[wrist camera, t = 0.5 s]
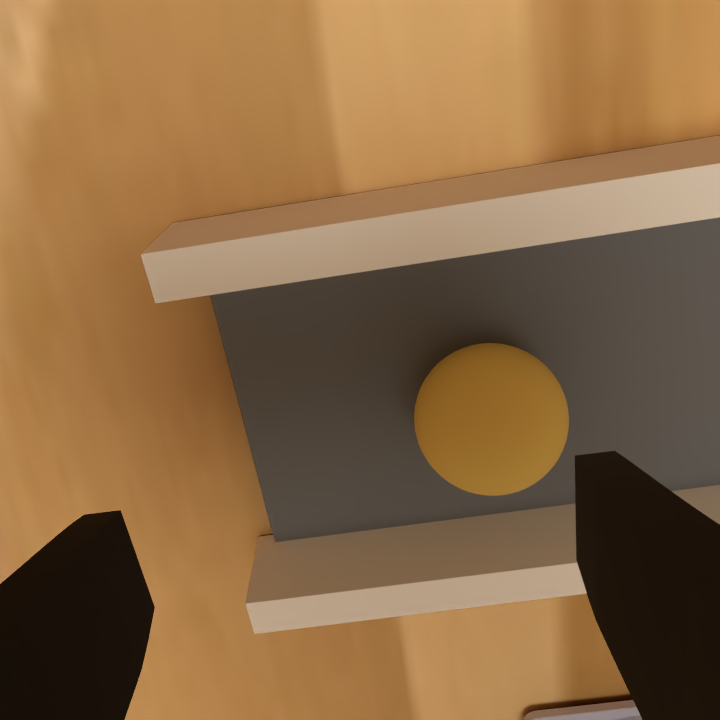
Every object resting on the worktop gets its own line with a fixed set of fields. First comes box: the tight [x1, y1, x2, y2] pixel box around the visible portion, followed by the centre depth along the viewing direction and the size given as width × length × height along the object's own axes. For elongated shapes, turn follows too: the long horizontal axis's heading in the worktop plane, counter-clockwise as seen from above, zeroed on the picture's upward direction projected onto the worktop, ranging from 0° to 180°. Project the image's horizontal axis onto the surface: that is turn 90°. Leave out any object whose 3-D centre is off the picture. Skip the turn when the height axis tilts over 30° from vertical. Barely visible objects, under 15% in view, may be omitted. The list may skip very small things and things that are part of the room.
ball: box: [414, 343, 569, 496], centre depth 18 cm, size 4×4×4 cm
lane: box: [141, 136, 720, 634], centre depth 19 cm, size 12×26×3 cm, turn 99°
